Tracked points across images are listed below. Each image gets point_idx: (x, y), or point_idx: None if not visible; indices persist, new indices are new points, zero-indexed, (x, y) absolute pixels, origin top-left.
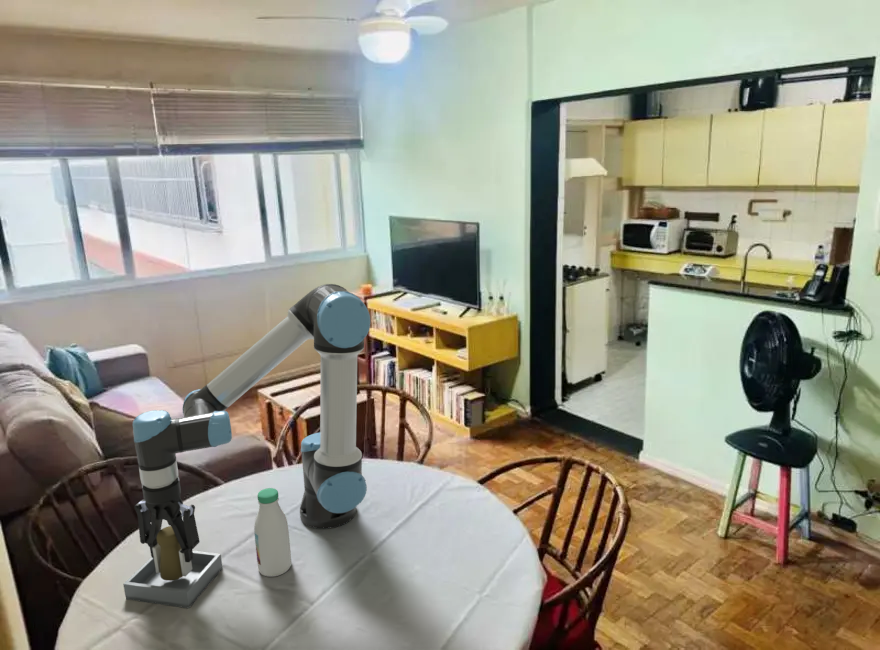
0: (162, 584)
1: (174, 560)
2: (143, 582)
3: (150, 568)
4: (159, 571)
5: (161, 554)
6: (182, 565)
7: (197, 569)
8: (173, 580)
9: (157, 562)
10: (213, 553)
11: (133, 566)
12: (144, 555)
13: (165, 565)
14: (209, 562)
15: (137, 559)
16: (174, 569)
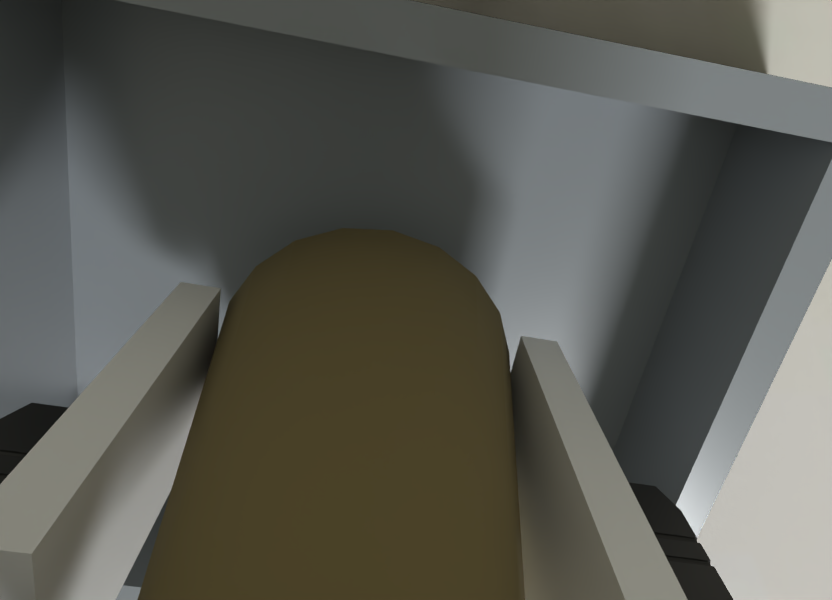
0: (472, 261)
1: (228, 407)
2: (668, 288)
3: (656, 429)
4: (521, 351)
5: (463, 495)
6: (138, 358)
7: None
8: None
9: (553, 418)
10: None
11: (816, 487)
12: (763, 590)
13: (381, 338)
14: None
15: (805, 553)
16: (267, 313)
